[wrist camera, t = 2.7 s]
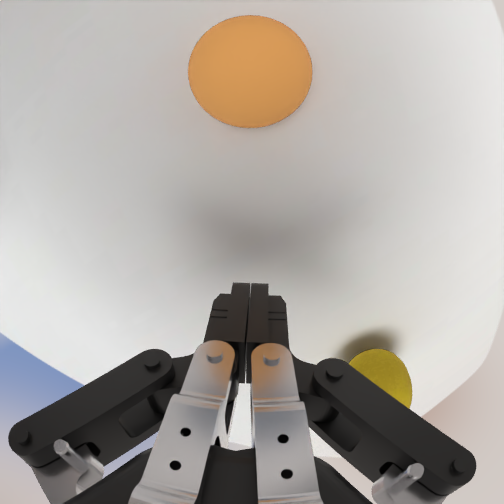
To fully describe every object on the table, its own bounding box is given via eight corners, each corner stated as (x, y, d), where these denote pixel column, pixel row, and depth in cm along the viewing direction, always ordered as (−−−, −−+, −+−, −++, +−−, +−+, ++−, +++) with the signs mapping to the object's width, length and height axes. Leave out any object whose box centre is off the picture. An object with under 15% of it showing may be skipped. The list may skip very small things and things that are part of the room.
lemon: (401, 325, 22) (435, 402, 14) (387, 368, 24) (409, 438, 17) (337, 332, 22) (358, 419, 15) (330, 375, 25) (343, 452, 17)
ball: (201, 124, 15) (173, 134, 10) (202, 33, 13) (175, 4, 8) (301, 126, 15) (320, 136, 10) (304, 34, 12) (323, 3, 8)
